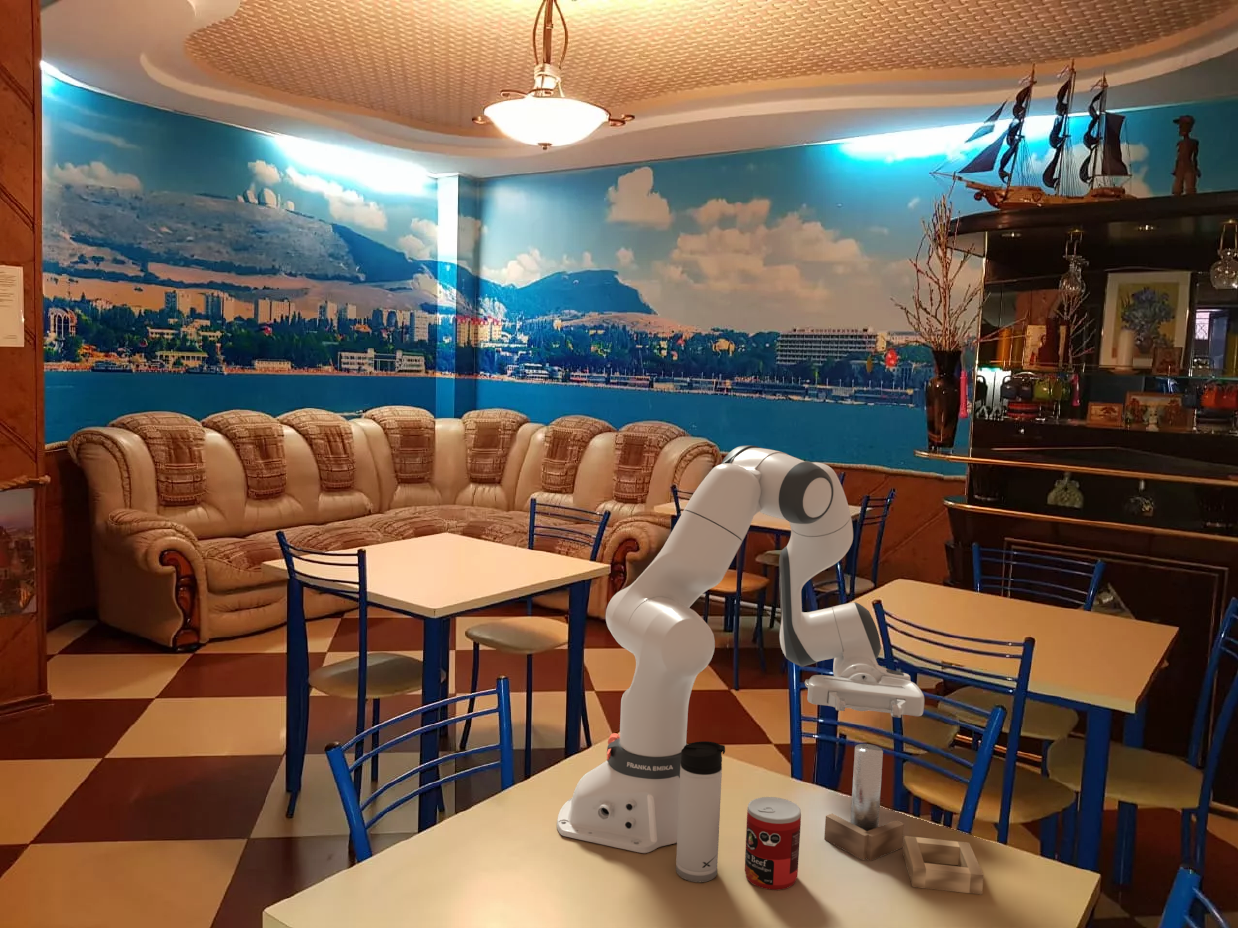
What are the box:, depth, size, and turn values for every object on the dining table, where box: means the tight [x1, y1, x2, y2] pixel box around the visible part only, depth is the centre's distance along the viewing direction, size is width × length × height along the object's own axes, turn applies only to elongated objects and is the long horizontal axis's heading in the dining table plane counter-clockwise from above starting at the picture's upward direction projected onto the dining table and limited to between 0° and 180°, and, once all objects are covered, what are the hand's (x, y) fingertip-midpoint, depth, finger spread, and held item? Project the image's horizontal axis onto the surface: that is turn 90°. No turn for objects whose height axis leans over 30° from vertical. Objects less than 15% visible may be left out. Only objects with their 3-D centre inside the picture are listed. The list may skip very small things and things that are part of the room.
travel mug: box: [675, 740, 726, 883], centre depth 142 cm, size 6×7×20 cm
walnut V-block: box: [824, 813, 905, 862], centre depth 151 cm, size 12×7×4 cm, turn 81°
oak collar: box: [902, 835, 984, 896], centre depth 145 cm, size 10×10×3 cm
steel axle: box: [849, 743, 884, 831], centre depth 153 cm, size 4×4×16 cm
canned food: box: [744, 796, 802, 891], centre depth 141 cm, size 8×8×11 cm
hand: (868, 709), depth 162 cm, fingers open, 8 cm apart
